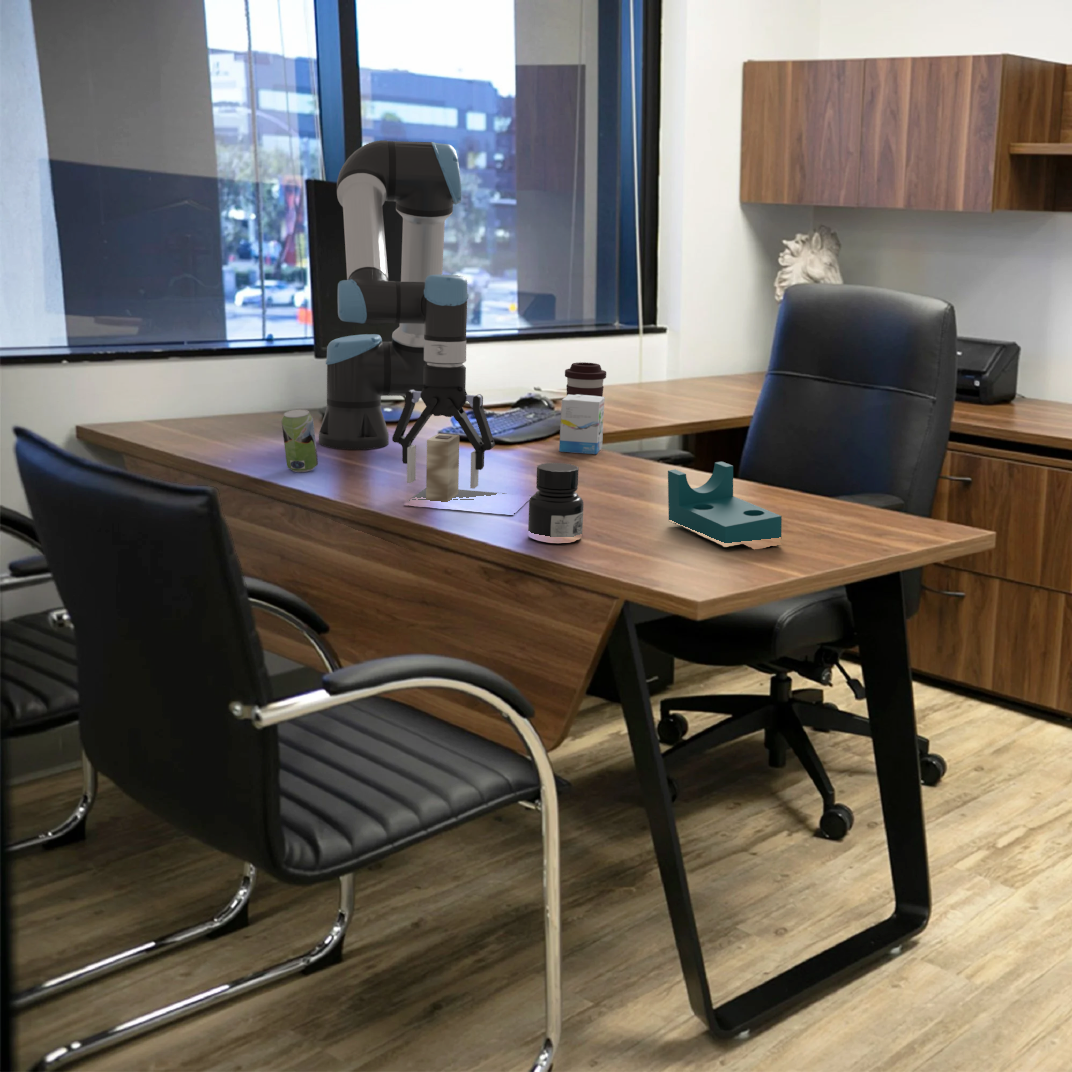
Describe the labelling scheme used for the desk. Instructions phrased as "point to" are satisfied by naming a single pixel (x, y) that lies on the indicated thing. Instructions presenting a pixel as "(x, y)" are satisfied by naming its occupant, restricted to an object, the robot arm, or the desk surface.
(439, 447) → the birch block
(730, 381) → the desk surface
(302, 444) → the beverage can
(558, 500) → the ink bottle
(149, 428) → the desk surface
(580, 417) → the ink box
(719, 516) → the teal l-shaped bracket
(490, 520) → the desk surface
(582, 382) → the coffee cup
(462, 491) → the felt pad
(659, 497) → the desk surface
